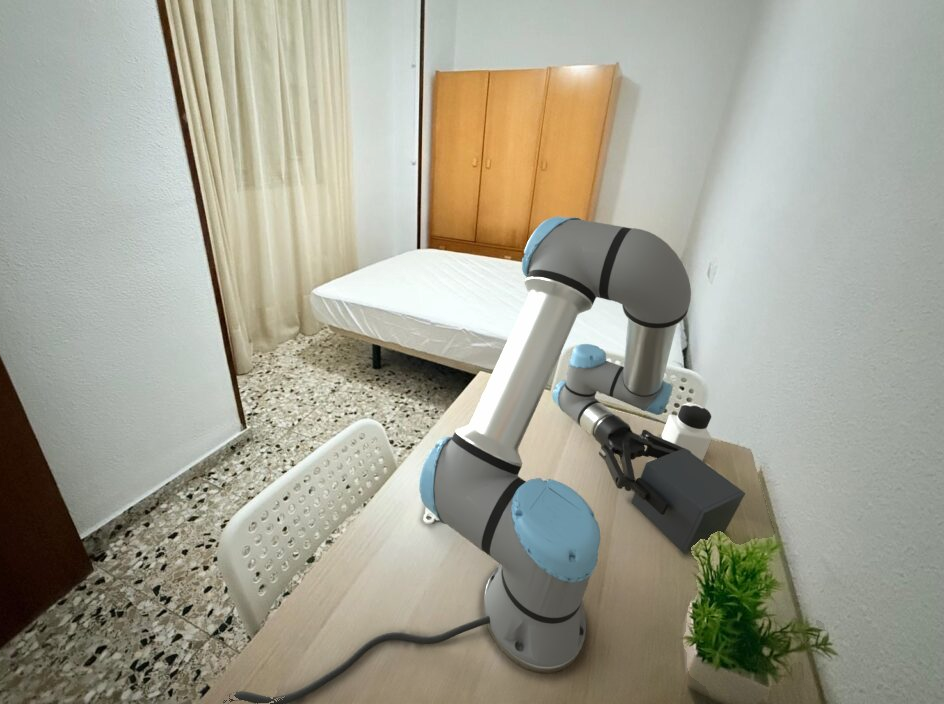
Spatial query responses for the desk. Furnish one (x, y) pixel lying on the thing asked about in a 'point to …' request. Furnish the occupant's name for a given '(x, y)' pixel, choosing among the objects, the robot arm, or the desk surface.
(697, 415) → the medicine bottle
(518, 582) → the robot arm
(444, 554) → the desk surface
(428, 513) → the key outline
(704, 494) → the dark grey cube box
